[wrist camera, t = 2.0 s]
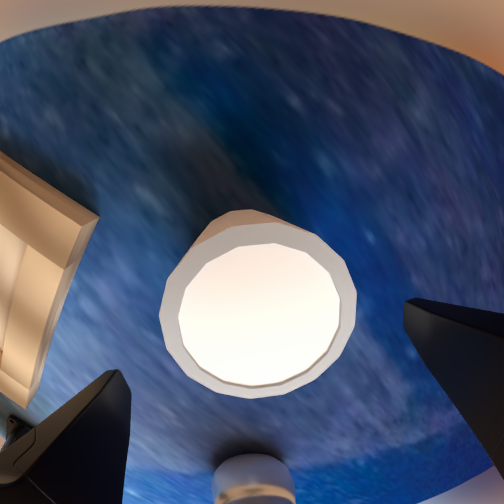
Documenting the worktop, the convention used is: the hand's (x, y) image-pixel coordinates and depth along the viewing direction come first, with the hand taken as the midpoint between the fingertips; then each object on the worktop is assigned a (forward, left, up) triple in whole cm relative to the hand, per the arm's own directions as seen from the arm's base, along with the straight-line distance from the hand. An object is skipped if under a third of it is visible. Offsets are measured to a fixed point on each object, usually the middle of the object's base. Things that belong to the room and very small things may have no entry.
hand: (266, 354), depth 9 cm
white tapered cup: (0, 0, -9) cm, 9 cm away
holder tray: (-9, +15, -9) cm, 20 cm away
